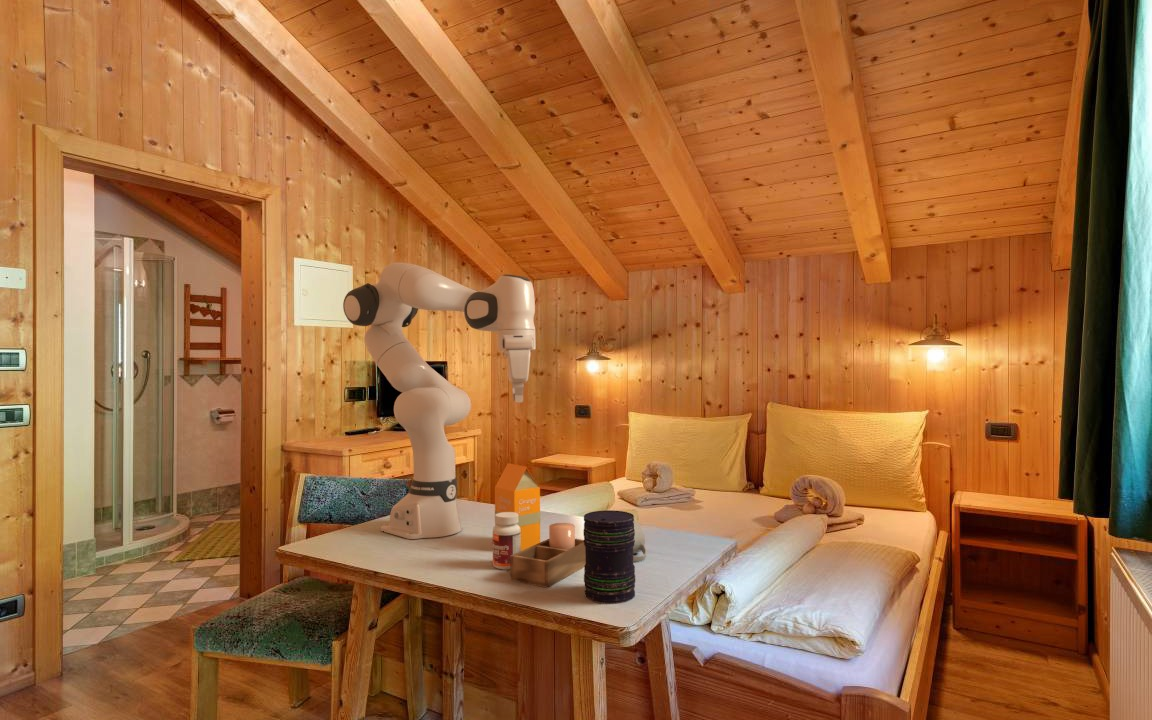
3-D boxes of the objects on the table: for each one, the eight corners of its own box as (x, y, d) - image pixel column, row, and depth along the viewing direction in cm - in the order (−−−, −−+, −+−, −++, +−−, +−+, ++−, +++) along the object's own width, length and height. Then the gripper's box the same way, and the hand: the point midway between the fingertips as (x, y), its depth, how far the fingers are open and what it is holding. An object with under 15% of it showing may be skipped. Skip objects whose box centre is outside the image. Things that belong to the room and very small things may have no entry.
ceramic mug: (597, 554, 145) (597, 521, 145) (623, 548, 150) (623, 516, 150) (629, 566, 136) (629, 531, 136) (655, 559, 142) (655, 525, 142)
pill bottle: (487, 568, 136) (487, 516, 136) (501, 560, 141) (501, 510, 142) (512, 571, 133) (511, 518, 133) (525, 563, 139) (525, 512, 139)
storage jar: (595, 583, 125) (594, 508, 126) (641, 589, 122) (640, 512, 122) (576, 599, 116) (575, 519, 116) (626, 607, 112) (625, 524, 113)
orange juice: (514, 553, 147) (513, 468, 147) (494, 545, 154) (493, 464, 154) (541, 546, 152) (540, 464, 152) (520, 539, 159) (520, 461, 159)
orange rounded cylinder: (544, 564, 136) (544, 527, 136) (558, 557, 140) (557, 521, 141) (566, 567, 133) (566, 530, 133) (579, 560, 138) (579, 524, 138)
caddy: (510, 580, 128) (510, 555, 128) (555, 557, 143) (555, 535, 143) (548, 587, 123) (547, 562, 123) (590, 563, 138) (590, 540, 138)
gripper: (502, 345, 157) (503, 400, 156) (504, 340, 136) (505, 403, 136) (527, 345, 157) (528, 399, 157) (533, 340, 137) (534, 402, 137)
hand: (517, 401), depth 146 cm, fingers open, 8 cm apart
